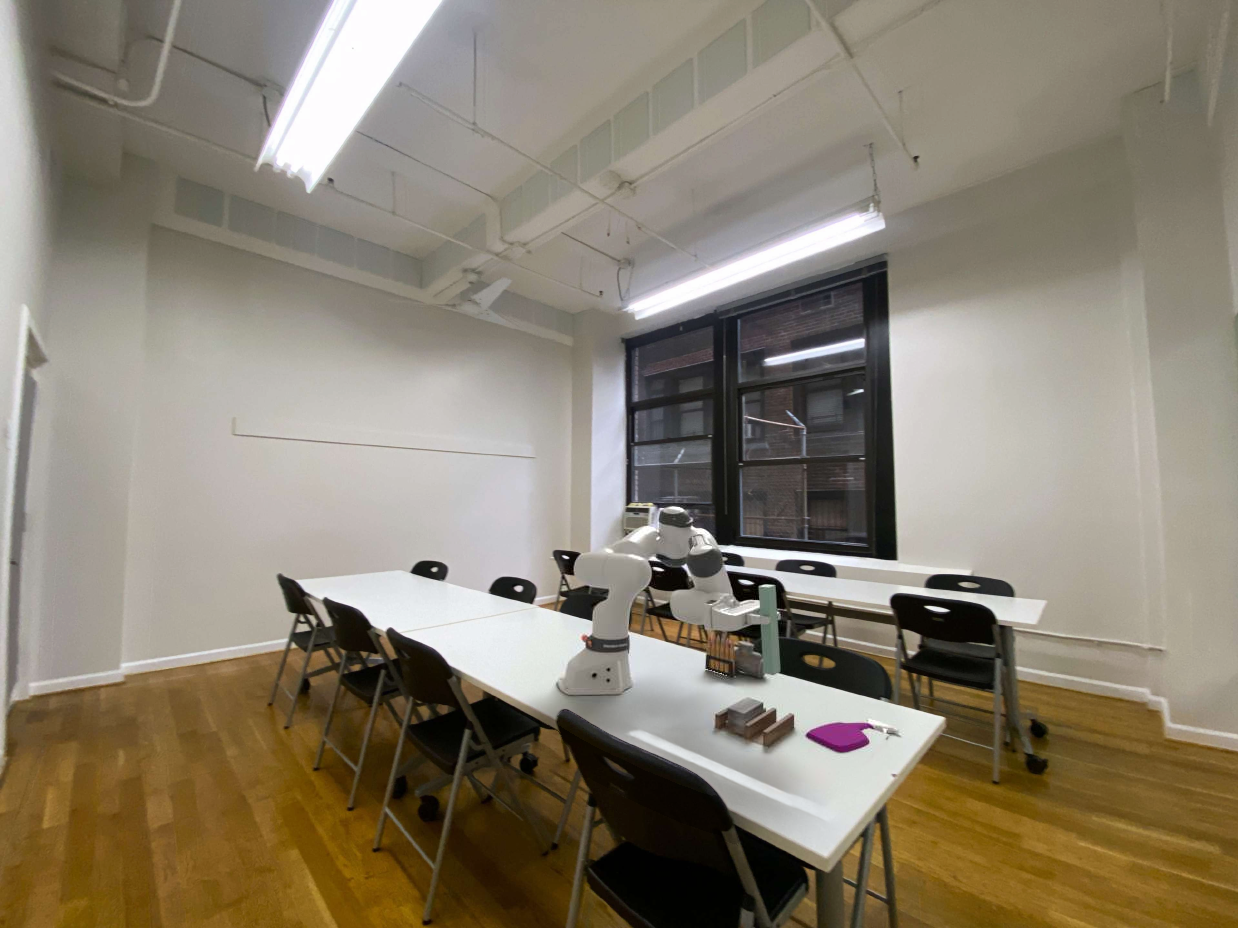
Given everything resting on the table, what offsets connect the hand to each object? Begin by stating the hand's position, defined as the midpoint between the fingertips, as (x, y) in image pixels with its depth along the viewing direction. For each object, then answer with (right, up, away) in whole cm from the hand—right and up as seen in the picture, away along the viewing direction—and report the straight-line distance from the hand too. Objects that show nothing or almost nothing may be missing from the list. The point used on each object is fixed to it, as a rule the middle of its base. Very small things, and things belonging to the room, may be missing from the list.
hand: (774, 618), depth 115 cm
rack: (-5, -28, +2) cm, 29 cm away
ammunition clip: (-4, -32, +44) cm, 55 cm away
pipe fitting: (+5, -32, +44) cm, 55 cm away
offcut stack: (-6, -27, +3) cm, 27 cm away
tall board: (-1, -13, 0) cm, 13 cm away
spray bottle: (+19, -29, 0) cm, 35 cm away
